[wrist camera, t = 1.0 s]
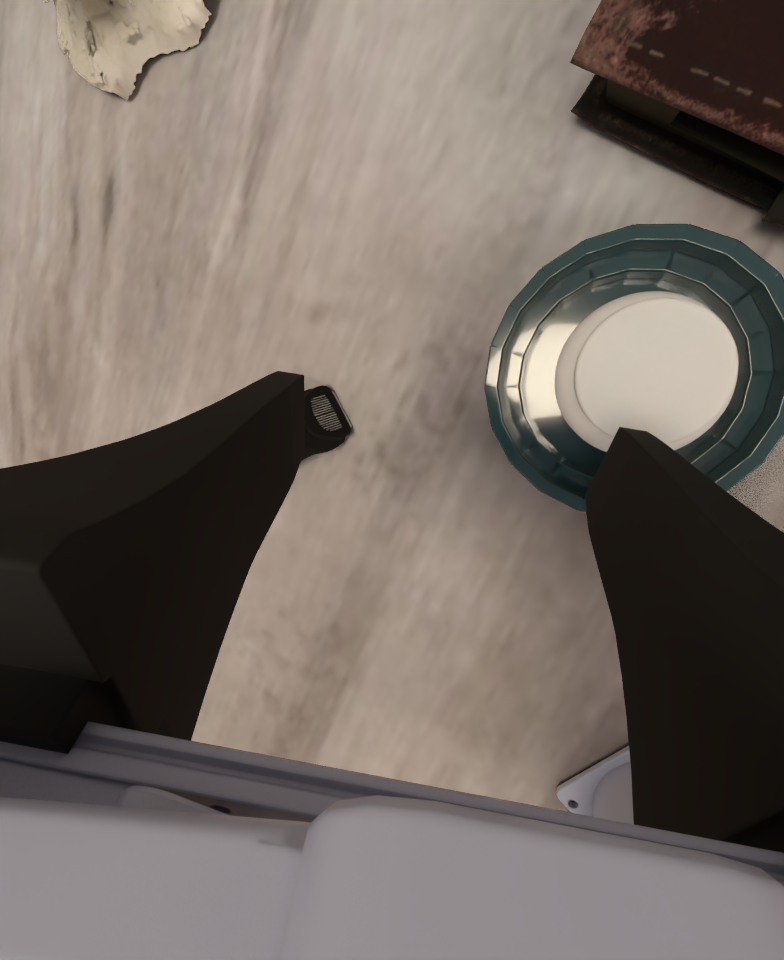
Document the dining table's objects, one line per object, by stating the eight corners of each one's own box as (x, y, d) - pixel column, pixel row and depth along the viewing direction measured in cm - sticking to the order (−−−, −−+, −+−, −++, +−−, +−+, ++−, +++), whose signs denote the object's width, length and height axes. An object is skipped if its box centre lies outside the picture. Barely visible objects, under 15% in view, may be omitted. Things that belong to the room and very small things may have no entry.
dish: (846, 368, 19) (895, 364, 16) (615, 548, 23) (621, 571, 20) (628, 190, 21) (637, 157, 18) (451, 389, 25) (434, 390, 22)
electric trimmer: (167, 488, 34) (128, 498, 31) (328, 379, 27) (299, 379, 25) (191, 535, 34) (155, 549, 31) (358, 437, 27) (332, 443, 25)
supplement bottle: (646, 293, 21) (700, 220, 12) (716, 395, 20) (825, 400, 12) (538, 367, 23) (514, 352, 14) (600, 460, 23) (615, 507, 14)
